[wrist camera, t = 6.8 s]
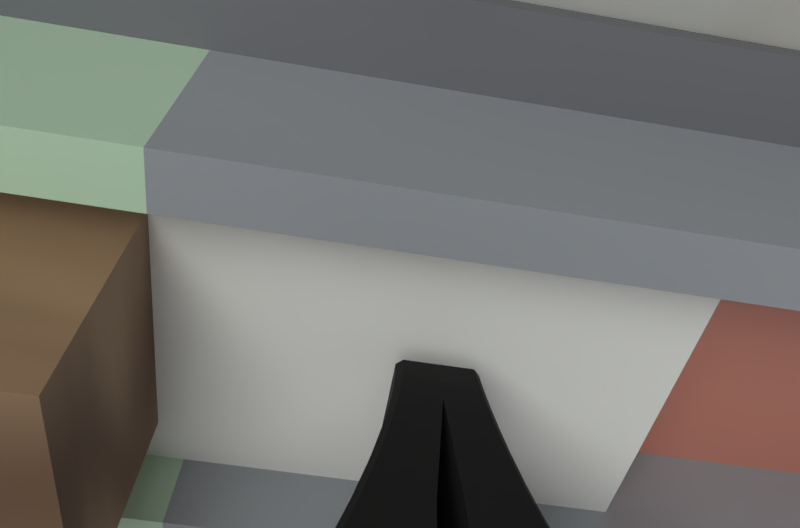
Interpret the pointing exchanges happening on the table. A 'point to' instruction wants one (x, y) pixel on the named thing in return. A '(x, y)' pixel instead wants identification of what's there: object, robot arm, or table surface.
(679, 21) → the table surface
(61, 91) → the trap channel
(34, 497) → the walnut block
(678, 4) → the table surface
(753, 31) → the table surface
